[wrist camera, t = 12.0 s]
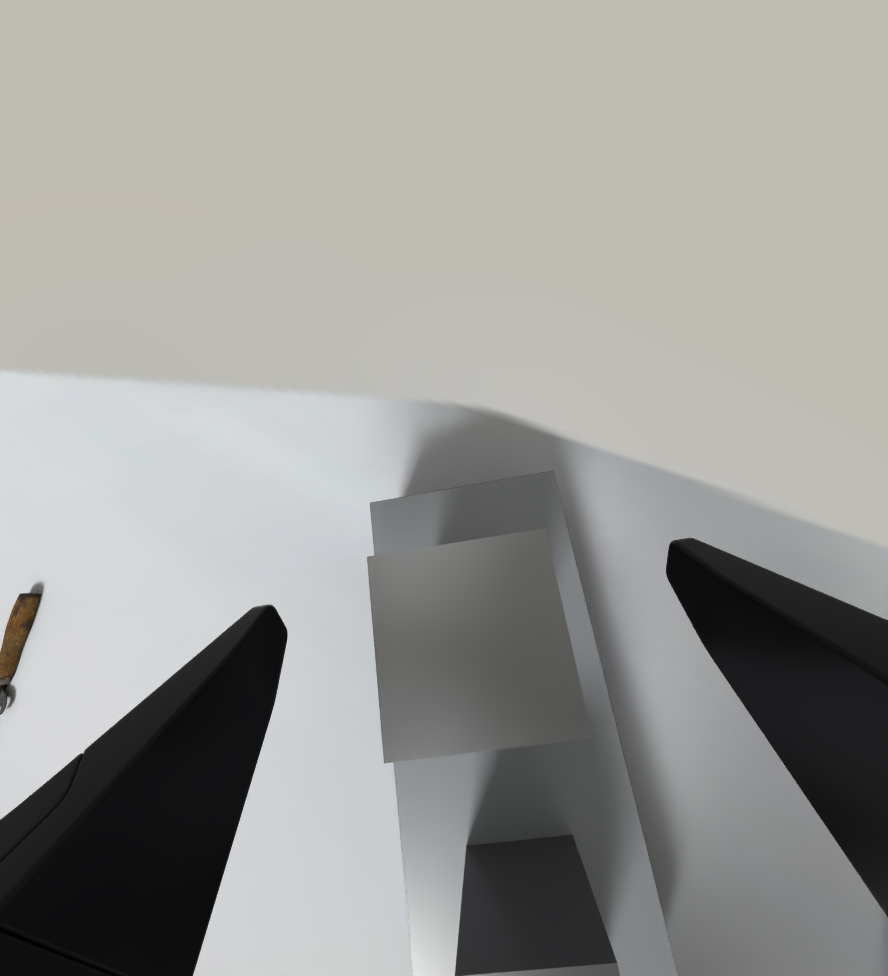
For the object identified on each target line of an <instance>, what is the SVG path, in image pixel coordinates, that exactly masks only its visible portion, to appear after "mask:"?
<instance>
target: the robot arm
mask: <svg viewBox="0 0 888 976" xmlns="http://www.w3.org/2000/svg"><path fill="white" fill-rule="evenodd" d="M666 574H667V578H668V580H669V582H670V584H671V586H672V588H673V590H674V592H675V593H676V595H677V597H678V599H679V601H680V603H681V605H682V607H683V608H684V610H685V612H686V614H687V616H688V618H689V620H690V621H691V623H692V625H693V627H694V629H695V631H696V633H697V634H698V636H699V638H700V640H701V641H702V643H703V645H704V646H705V648H706V650H707V651H708V653H709V654H710V656H711V657H712V659H713V660H714V662H715V663H716V665H717V666H718V668H719V669H720V671H721V672H722V673H723V675H724V676H725V678H726V679H727V681H728V682H729V684H730V685H731V687H732V688H733V690H734V691H735V693H736V694H737V696H738V697H739V699H740V700H741V701H742V703H743V704H744V706H745V707H746V709H747V710H748V712H749V713H750V715H751V716H752V718H753V719H754V721H755V722H756V724H757V725H758V727H759V728H760V730H761V731H762V732H763V734H764V735H765V737H766V738H767V740H768V741H769V743H770V744H771V746H772V747H773V749H774V750H775V752H776V753H777V755H778V756H779V758H780V759H781V760H782V762H783V763H784V765H785V766H786V768H787V769H788V771H789V772H790V774H791V775H792V777H793V778H794V780H795V781H796V783H797V784H798V786H799V787H800V788H801V790H802V791H803V793H804V794H805V796H806V797H807V799H808V800H809V802H810V803H811V805H812V806H813V808H814V809H815V811H816V812H817V814H818V815H819V816H820V818H821V819H822V821H823V822H824V824H825V825H826V827H827V828H828V830H829V831H830V833H831V834H832V836H833V837H834V839H835V840H836V842H837V843H838V844H839V846H840V847H841V849H842V850H843V852H844V853H845V855H846V856H847V858H848V859H849V861H850V862H851V864H852V865H853V867H854V868H855V870H856V871H857V872H858V874H859V875H860V877H861V878H862V880H863V881H864V883H865V884H866V886H867V887H868V889H869V890H870V892H871V893H872V895H873V896H874V898H875V899H876V901H877V902H878V903H879V905H880V906H881V908H882V909H883V911H884V912H885V914H886V915H887V917H888V620H886V619H883V618H881V617H879V616H876V615H874V614H871V613H869V612H867V611H864V610H862V609H860V608H857V607H855V606H852V605H850V604H848V603H845V602H843V601H841V600H838V599H836V598H834V597H831V596H829V595H826V594H824V593H822V592H819V591H817V590H815V589H812V588H810V587H807V586H805V585H803V584H800V583H798V582H796V581H793V580H791V579H789V578H786V577H784V576H781V575H779V574H777V573H774V572H772V571H770V570H767V569H765V568H762V567H760V566H758V565H755V564H753V563H751V562H748V561H746V560H744V559H741V558H739V557H736V556H734V555H732V554H729V553H727V552H725V551H722V550H720V549H718V548H715V547H713V546H710V545H708V544H706V543H703V542H701V541H699V540H696V539H693V538H686V539H679V540H674V541H672V542H671V543H670V545H669V550H668V558H667V566H666ZM286 643H287V629H286V626H285V625H284V623H283V621H282V619H281V618H280V616H279V614H278V612H277V610H276V609H275V607H274V606H272V605H263V606H257V607H254V608H252V609H251V610H249V611H248V612H247V613H246V614H245V615H243V616H242V617H241V618H240V619H239V620H238V621H236V622H235V623H234V624H233V625H232V626H230V627H229V628H228V629H227V630H226V631H225V632H223V633H222V634H221V635H220V636H219V637H218V638H216V639H215V640H214V641H213V642H212V643H210V644H209V645H208V646H207V647H206V648H205V649H203V650H202V651H201V652H200V653H199V654H197V655H196V656H195V657H194V658H193V659H192V660H190V661H189V662H188V663H187V664H186V665H184V666H183V667H182V668H181V669H180V670H179V671H177V672H176V673H175V674H174V675H173V676H171V677H170V678H169V679H168V680H167V681H166V682H164V683H163V684H162V685H161V686H160V687H159V688H157V689H156V690H155V691H154V692H153V693H151V694H150V695H149V696H148V697H147V698H146V699H144V700H143V701H142V702H141V703H140V704H138V705H137V706H136V707H135V708H134V709H133V710H131V711H130V712H129V713H128V714H127V715H125V716H124V717H123V718H122V719H121V720H120V721H118V722H117V723H116V724H115V725H114V726H112V727H111V728H110V729H109V730H108V731H107V732H105V733H104V734H103V735H102V736H101V737H100V738H98V739H97V740H96V741H95V742H94V743H92V744H91V745H90V746H89V747H88V748H87V749H85V751H84V753H82V754H79V755H78V756H77V757H76V758H75V759H73V760H72V761H71V762H70V763H69V764H68V765H66V766H65V767H64V768H63V769H62V770H61V771H59V772H58V773H57V774H56V775H55V776H53V777H52V778H51V779H50V780H49V781H47V782H46V783H45V784H44V785H43V786H41V787H40V788H39V789H38V790H37V791H35V792H34V793H33V794H32V795H30V796H29V797H28V798H27V799H26V800H24V801H23V802H22V803H21V804H20V805H18V806H17V807H16V808H15V809H13V810H12V811H11V812H10V813H8V814H7V815H6V816H5V817H3V818H2V819H1V820H0V976H193V974H194V971H195V967H196V964H197V961H198V957H199V954H200V951H201V947H202V944H203V941H204V937H205V934H206V931H207V927H208V924H209V921H210V917H211V914H212V911H213V907H214V904H215V901H216V897H217V894H218V891H219V887H220V884H221V881H222V877H223V874H224V871H225V867H226V864H227V861H228V857H229V854H230V851H231V847H232V844H233V841H234V837H235V834H236V831H237V827H238V824H239V821H240V817H241V814H242V811H243V807H244V804H245V801H246V797H247V794H248V791H249V787H250V784H251V781H252V777H253V774H254V771H255V767H256V764H257V761H258V757H259V754H260V751H261V747H262V744H263V741H264V737H265V734H266V731H267V727H268V724H269V721H270V717H271V714H272V710H273V706H274V703H275V698H276V694H277V689H278V684H279V679H280V673H281V668H282V663H283V658H284V653H285V648H286Z"/></svg>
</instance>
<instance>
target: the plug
mask: <svg viewBox="0 0 888 976" xmlns="http://www.w3.org/2000/svg"><path fill="white" fill-rule="evenodd" d="M367 562H368V575H369V587H370V599H371V611H372V623H373V635H374V647H375V659H376V671H377V683H378V695H379V708H380V720H381V732H382V744H383V756H384V763H390V762H399V761H407V760H415V759H424V758H432V757H440V756H448V755H457V754H465V753H473V752H482V751H490V750H498V749H507V748H515V747H523V746H532V745H540V744H548V743H556V742H565V741H573V740H581V739H590V738H593V737H592V733H591V728H590V724H589V720H588V715H587V711H586V706H585V702H584V697H583V693H582V689H581V684H580V680H579V675H578V671H577V666H576V662H575V658H574V653H573V649H572V644H571V640H570V635H569V631H568V627H567V622H566V618H565V613H564V609H563V604H562V600H561V596H560V591H559V587H558V582H557V578H556V574H555V569H554V565H553V560H552V556H551V551H550V547H549V543H548V538H547V534H546V529H545V528H543V529H537V530H530V531H524V532H518V533H512V534H506V535H499V536H493V537H487V538H481V539H475V540H468V541H462V542H456V543H450V544H444V545H437V546H431V547H425V548H419V549H413V550H406V551H400V552H394V553H388V554H382V555H375V556H369V557H367Z"/></svg>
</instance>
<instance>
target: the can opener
mask: <svg viewBox="0 0 888 976" xmlns="http://www.w3.org/2000/svg"><path fill="white" fill-rule="evenodd" d="M40 596H41V594H32V593H23V594H20V595H19V596H18V598H17V601H16V603H15V605H14V607H13V609H12V612H11V615H10V618H9V621H8V623H7V627H6V630H5V635H4V639H3V644H2V648H1V652H0V703H1V710H0V715H1V714H2V713H3V712H4V710H5V708H6V704H7V695H6V693H5V691H4V690H3V689H4V686H5V685H6V684H9V683H10V682H11V679H12V677H13V676H14V674H15V671H16V668H17V664H18V661H19V658H20V655H21V651H22V649H23V646H24V643H25V641H26V639H27V636H28V634H29V631H30V629H31V626H32V624H33V621H34V618H35V615H36V612H37V608H38V604H39V600H40Z"/></svg>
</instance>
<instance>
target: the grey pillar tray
mask: <svg viewBox="0 0 888 976" xmlns="http://www.w3.org/2000/svg"><path fill="white" fill-rule="evenodd" d="M370 511H371V522H372V533H373V544H374V555H382V554H388V553H394V552H400V551H406V550H413V549H419V548H425V547H431V546H437V545H444V544H450V543H456V542H462V541H468V540H475V539H481V538H487V537H493V536H499V535H506V534H512V533H518V532H524V531H530V530H537V529H543V528H545V529H546V534H547V538H548V543H549V547H550V551H551V556H552V560H553V565H554V569H555V574H556V578H557V582H558V587H559V591H560V596H561V600H562V604H563V609H564V613H565V618H566V622H567V627H568V631H569V635H570V640H571V644H572V649H573V653H574V658H575V662H576V666H577V671H578V675H579V680H580V684H581V689H582V693H583V697H584V702H585V706H586V711H587V715H588V720H589V724H590V728H591V733H592V737H593V738H590V739H581V740H573V741H565V742H556V743H548V744H540V745H532V746H523V747H515V748H507V749H498V750H490V751H482V752H473V753H465V754H457V755H448V756H440V757H432V758H424V759H415V760H407V761H399V762H394V772H395V783H396V794H397V805H398V816H399V827H400V838H401V849H402V859H403V870H404V881H405V892H406V903H407V914H408V925H409V936H410V947H411V957H412V968H413V976H678V974H677V970H676V966H675V962H674V957H673V953H672V949H671V945H670V941H669V937H668V933H667V929H666V925H665V921H664V917H663V913H662V909H661V905H660V901H659V897H658V893H657V889H656V885H655V881H654V877H653V872H652V868H651V864H650V860H649V856H648V852H647V848H646V844H645V840H644V836H643V832H642V828H641V824H640V820H639V816H638V812H637V808H636V804H635V800H634V796H633V792H632V788H631V783H630V779H629V775H628V771H627V767H626V763H625V759H624V755H623V751H622V747H621V743H620V739H619V735H618V731H617V727H616V723H615V719H614V715H613V711H612V707H611V703H610V698H609V694H608V690H607V686H606V682H605V678H604V674H603V670H602V666H601V662H600V658H599V654H598V650H597V646H596V642H595V638H594V634H593V630H592V626H591V622H590V618H589V614H588V609H587V605H586V601H585V597H584V593H583V589H582V585H581V581H580V577H579V573H578V569H577V565H576V561H575V557H574V553H573V549H572V545H571V541H570V537H569V533H568V529H567V524H566V520H565V516H564V512H563V508H562V504H561V500H560V496H559V492H558V488H557V484H556V480H555V476H554V472H553V471H549V472H543V473H537V474H532V475H526V476H520V477H514V478H509V479H503V480H497V481H492V482H486V483H480V484H474V485H469V486H463V487H457V488H452V489H446V490H440V491H434V492H429V493H423V494H417V495H412V496H406V497H400V498H394V499H389V500H383V501H377V502H372V503H370Z"/></svg>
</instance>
